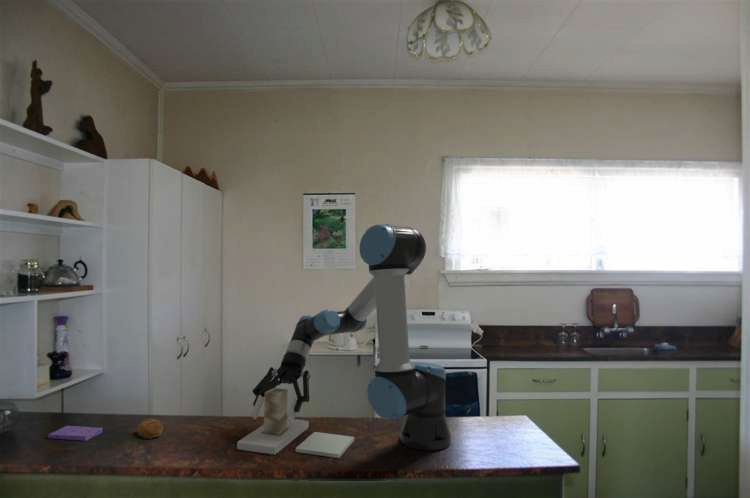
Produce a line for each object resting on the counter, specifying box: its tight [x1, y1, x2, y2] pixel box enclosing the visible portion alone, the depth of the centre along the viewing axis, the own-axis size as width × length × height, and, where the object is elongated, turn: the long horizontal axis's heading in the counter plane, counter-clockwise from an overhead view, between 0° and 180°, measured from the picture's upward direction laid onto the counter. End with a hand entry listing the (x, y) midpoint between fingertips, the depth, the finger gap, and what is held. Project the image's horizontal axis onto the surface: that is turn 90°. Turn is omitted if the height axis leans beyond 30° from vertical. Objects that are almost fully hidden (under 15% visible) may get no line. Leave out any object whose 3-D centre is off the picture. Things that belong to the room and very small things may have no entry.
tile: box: [295, 431, 355, 459], centre depth 129 cm, size 13×13×1 cm
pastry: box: [136, 418, 164, 440], centre depth 136 cm, size 9×7×4 cm
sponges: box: [47, 425, 103, 442], centre depth 134 cm, size 7×13×2 cm, turn 83°
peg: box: [263, 387, 288, 436], centre depth 135 cm, size 5×5×14 cm
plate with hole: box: [236, 418, 310, 456], centre depth 135 cm, size 12×22×2 cm, turn 164°
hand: (271, 419), depth 132 cm, fingers open, 11 cm apart
